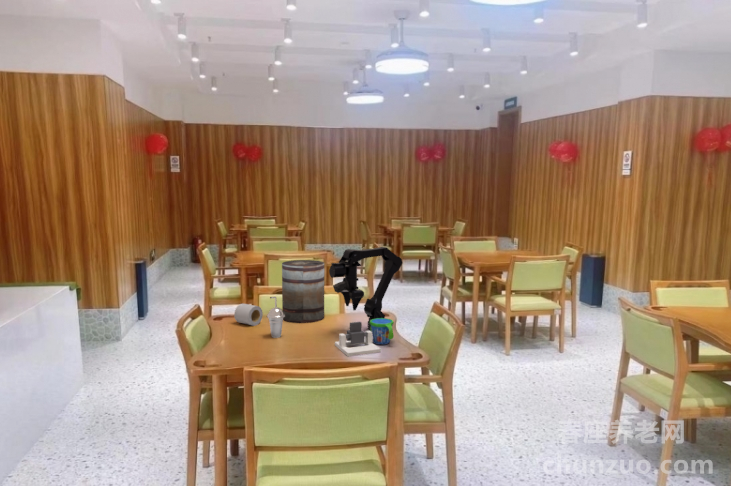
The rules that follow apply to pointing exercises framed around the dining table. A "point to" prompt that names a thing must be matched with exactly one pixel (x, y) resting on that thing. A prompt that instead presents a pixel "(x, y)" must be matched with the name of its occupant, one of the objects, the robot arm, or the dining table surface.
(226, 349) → the dining table surface
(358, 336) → the bracket
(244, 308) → the toilet paper
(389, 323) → the snack cup
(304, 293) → the barrel
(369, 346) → the white square base
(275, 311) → the cup with straw
